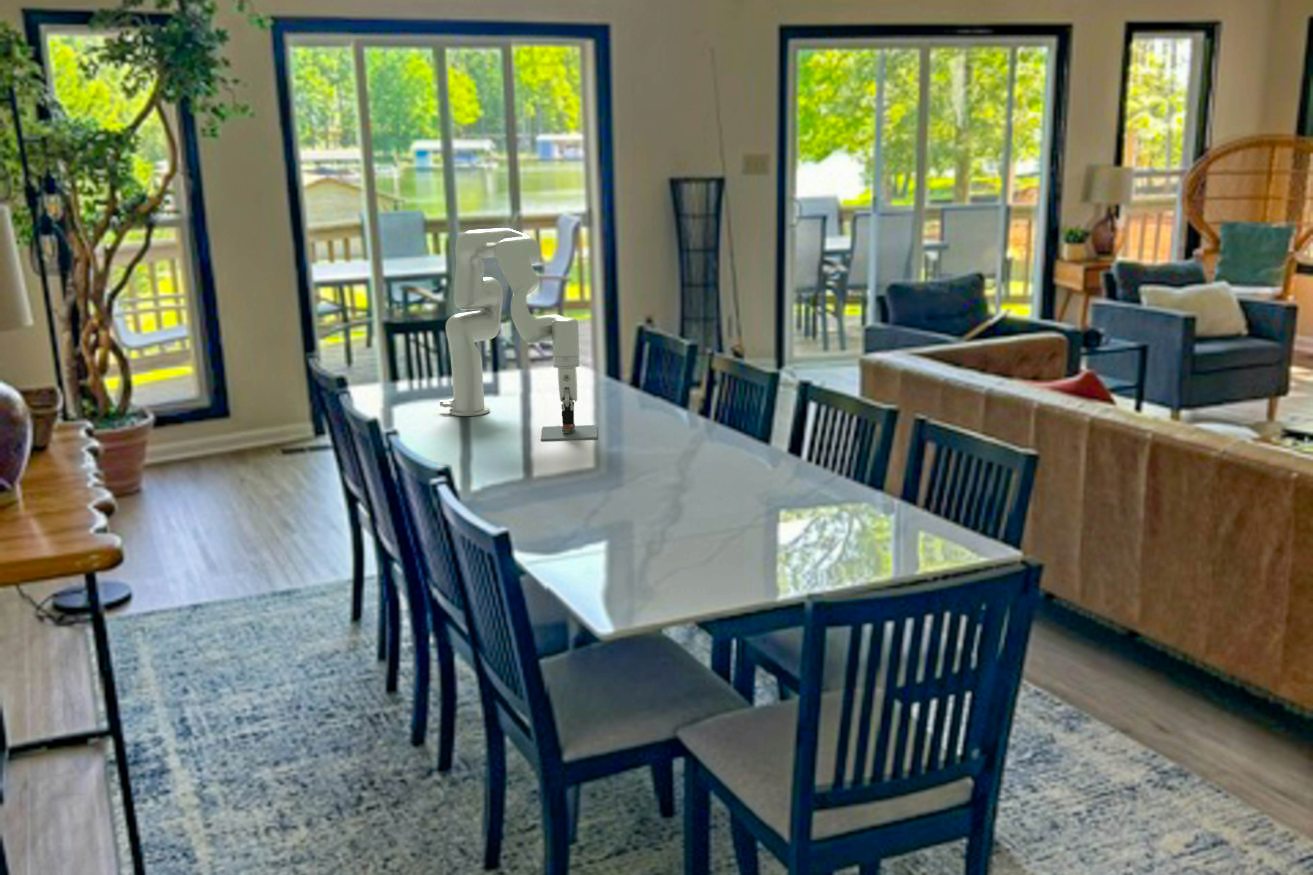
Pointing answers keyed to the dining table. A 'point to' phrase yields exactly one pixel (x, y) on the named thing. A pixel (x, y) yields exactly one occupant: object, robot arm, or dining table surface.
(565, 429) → the lighter
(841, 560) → the dining table surface
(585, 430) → the mat
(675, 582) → the dining table surface
